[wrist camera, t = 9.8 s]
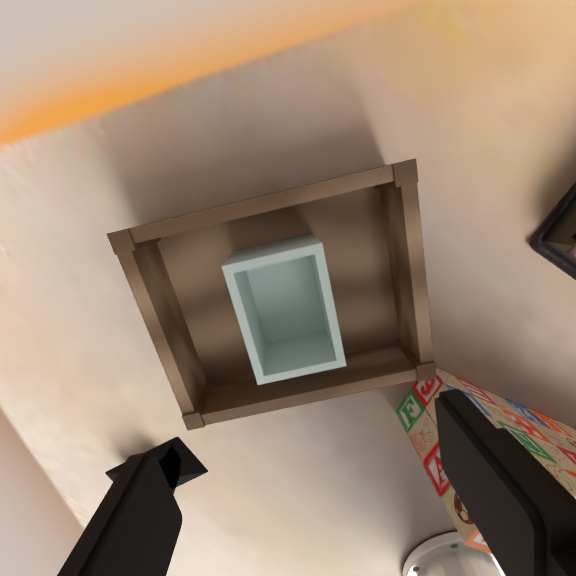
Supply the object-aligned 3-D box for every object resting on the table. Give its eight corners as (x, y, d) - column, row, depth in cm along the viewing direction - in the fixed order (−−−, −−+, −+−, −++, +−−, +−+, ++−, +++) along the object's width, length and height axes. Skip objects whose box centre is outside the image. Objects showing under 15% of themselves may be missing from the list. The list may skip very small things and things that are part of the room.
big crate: (408, 345, 28) (436, 377, 23) (203, 389, 29) (187, 430, 24) (386, 166, 23) (415, 158, 18) (142, 225, 24) (106, 233, 19)
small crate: (333, 332, 26) (346, 366, 21) (262, 347, 27) (257, 385, 21) (312, 232, 24) (322, 242, 18) (234, 250, 24) (221, 266, 19)
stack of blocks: (593, 434, 32) (776, 574, 20) (555, 475, 33) (704, 627, 22) (426, 362, 29) (528, 478, 17) (393, 412, 30) (464, 549, 19)
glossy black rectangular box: (187, 420, 30) (172, 457, 26) (226, 467, 32) (218, 509, 28) (91, 469, 32) (62, 512, 28) (134, 511, 34) (112, 558, 30)
